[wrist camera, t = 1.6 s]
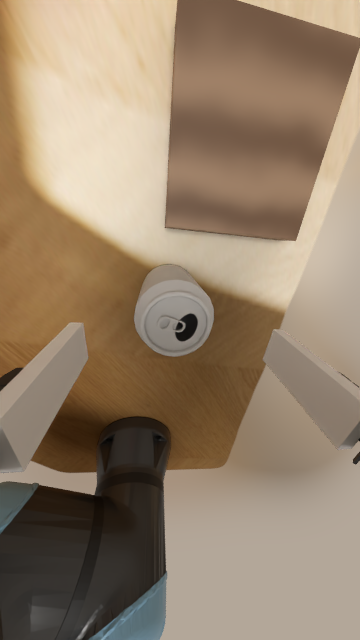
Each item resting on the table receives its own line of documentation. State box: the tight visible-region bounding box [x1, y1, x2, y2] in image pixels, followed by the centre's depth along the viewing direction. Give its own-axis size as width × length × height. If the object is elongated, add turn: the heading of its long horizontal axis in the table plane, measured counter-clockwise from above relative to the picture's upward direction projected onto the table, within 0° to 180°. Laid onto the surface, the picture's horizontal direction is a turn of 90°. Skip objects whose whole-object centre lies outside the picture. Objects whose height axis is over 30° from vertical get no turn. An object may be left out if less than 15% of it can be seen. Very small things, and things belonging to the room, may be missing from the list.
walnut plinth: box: [165, 0, 360, 241], centre depth 19 cm, size 16×16×3 cm
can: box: [134, 264, 214, 357], centre depth 21 cm, size 8×8×12 cm
